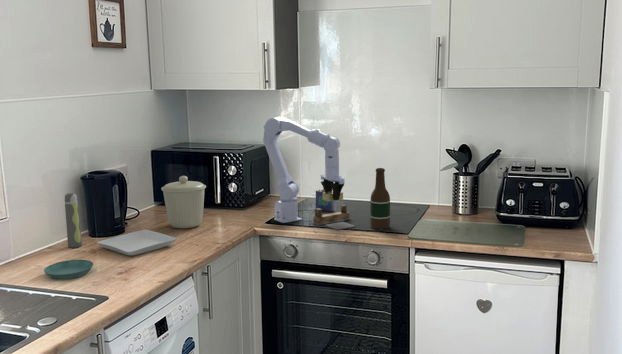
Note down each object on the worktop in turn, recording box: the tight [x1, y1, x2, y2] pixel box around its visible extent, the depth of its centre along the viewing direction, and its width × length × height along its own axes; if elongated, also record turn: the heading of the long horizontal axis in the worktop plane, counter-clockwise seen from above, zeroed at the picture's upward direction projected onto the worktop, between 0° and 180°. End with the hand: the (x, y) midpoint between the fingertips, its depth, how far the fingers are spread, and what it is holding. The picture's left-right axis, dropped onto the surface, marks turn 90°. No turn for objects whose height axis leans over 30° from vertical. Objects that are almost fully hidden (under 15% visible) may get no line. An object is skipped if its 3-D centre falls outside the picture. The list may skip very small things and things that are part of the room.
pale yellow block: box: [322, 190, 344, 202], centre depth 253 cm, size 7×5×4 cm
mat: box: [324, 221, 356, 231], centre depth 247 cm, size 9×9×1 cm
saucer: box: [43, 259, 94, 281], centre depth 194 cm, size 15×15×3 cm
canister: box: [161, 175, 207, 230], centre depth 251 cm, size 18×18×21 cm
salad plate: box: [97, 228, 178, 257], centre depth 222 cm, size 21×21×3 cm
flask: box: [315, 187, 335, 213], centre depth 275 cm, size 9×3×11 cm, turn 61°
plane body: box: [312, 204, 351, 226], centre depth 255 cm, size 16×4×6 cm, turn 122°
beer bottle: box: [369, 167, 391, 231], centre depth 242 cm, size 8×8×24 cm
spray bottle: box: [64, 193, 83, 249], centre depth 224 cm, size 5×5×20 cm
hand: (332, 198), depth 253 cm, fingers closed on pale yellow block, 5 cm apart
